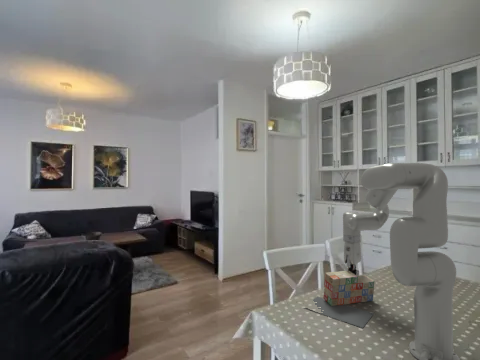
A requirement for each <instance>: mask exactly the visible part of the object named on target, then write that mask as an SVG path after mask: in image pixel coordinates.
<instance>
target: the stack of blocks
mask: <svg viewBox="0 0 480 360" xmlns="http://www.w3.org/2000/svg"><path fill="white" fill-rule="evenodd" d="M323 285H324V286H323V287H324V288H323V297H322V298H324V299H325V300H326V301H327V302H328V303H329V304H330V305H331V306H335V305H343V304H344V305H350V304H356V303H364V302H372V301H374V293H375V281H374V279H371V278H370V277H368V276H367V275H365V274H363V275H357V274H356V275H355V274H353V273H352V272H350V271H348V270H340V271H332V272H331V271H329V272H325V275H324V284H323Z"/></svg>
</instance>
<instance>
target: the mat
mask: <svg viewBox="0 0 480 360" xmlns="http://www.w3.org/2000/svg"><path fill="white" fill-rule="evenodd" d="M312 300H313V301H314V302H317V303H315V305H317V307H321V308H318V309H321V312H323V313H321V314H320V315H322V314H324V315H323V316H325V315H326V316H325V317H328V316H329V317H328V318H331V317H332V318H331V319H334V318H335V319H334V320H337V319H338V321H339V320H341V321H340V322H342V321H344V322H343V323H345V322H347V323H346V324H348V323H349V324H348V325H351V324H352V325H351V326H354V325H355V327H357V326H358V328H360V327H361V328H360V329H364V328H363V327H365V326H366V325H367V324H368V322H369V321H370V320H371V318H372V317H373V315H374V313H375V312H371V311H367V310H365V309H362V308H357V307H355V306H351V305H349V304H343V305H335V306H331V305H330V304H329V303H328V302H327V301H326V300H325V299H324V298H323V297H320V296H316V297H315V298H314V299H312ZM322 310H324V311H322Z"/></svg>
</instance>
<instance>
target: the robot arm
mask: <svg viewBox="0 0 480 360" xmlns="http://www.w3.org/2000/svg"><path fill="white" fill-rule="evenodd" d="M360 177H361V178H360V184H361V186H362V187H363V188H364V189H366V190H367V192H366V193H365V196H364V197H365V201H366V202H367V204H368V205H370V206H371V207H373V208H375V210H374V211H373V212H368V213H367V212H365V213H364V212H361V213H359V212H356V211H345V212H343V214H342V241H343V242H344V243H343V262H344V263H345V264H346V268H347V271H350V272H352V273H353V274H355V275H356V276H357V264H359V263H361V261H362V249H361V241H362V239H361V237H362V236H361V231H363V232H364V231H377V230H379V229H381V228H382V227H383V226H384V225H385V224H386V222H387V220H388V219H389V215H390V208H389V206H388V204H389V203H390V201H391V199H393V197H394V195H395V194H396V193H397V191H398V190H409V189H410V190H411V189H417V190H419V191H417V193H416V194H415V196H414V199H413V201H412V208H413V209H412V212H413V213H412V216H403V217H399V218H397V219H396V220H394V221H393V223H392V224H391V226H390V231H389V252H390V253H389V254H390V256H389V257H390V267H391V271H392V275H393V278H395V280H396V281H397V282H398V284H401V285H403V286H407V287H415V288H414V292H413V293H414V294H413V309H414V310H413V314H414V315H413V316H414V319H413V320H414V321H413V325H414V340H412V341H410V342H409V344H408V350H409V352H410V353H411V355H412V356H413V357H415V359H417V360H461V358H460V356H459V355H458V354H457V353H456V352H454V331H453V330H454V325H453V323H454V319H453V299H454V298H453V297H454V295H453V294H454V293H453V292H454V287H455V284H456V283H455V282H456V278H457V267H456V265H455V262H454V261H453V259H452V258H450V257H449V256H448V255H447V254H445V253H443V252H440V251H433V250H429V251H419V249H431V248H432V249H433V248H441V247H443V246H445V245H446V244H447V243H448V239H449V225H448V209H447V208H448V207H447V205H448V204H447V199H448V198H447V197H448V190H449V181H448V177H447V175H446V173H445V171H444V170H443V169H442V168H440V167H439V166H437V165H434V164H431V163H425V162H422V163H421V162H407V163H406V162H405V163H404V162H393V163H391V162H390V163H385V164H380V165H376V166H370V167H368V168H366V169H365V170H364V171H363V172H362V175H361V176H360Z"/></svg>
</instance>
